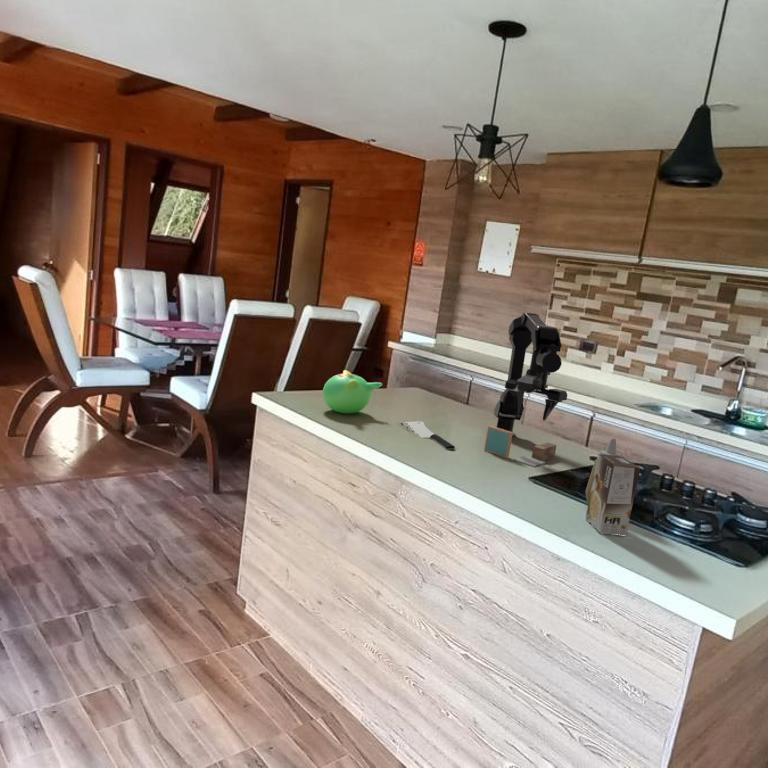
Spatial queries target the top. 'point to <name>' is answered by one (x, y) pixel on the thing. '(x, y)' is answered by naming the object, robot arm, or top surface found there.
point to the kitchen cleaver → (429, 434)
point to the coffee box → (612, 494)
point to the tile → (498, 441)
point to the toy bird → (348, 392)
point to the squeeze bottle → (609, 451)
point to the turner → (538, 455)
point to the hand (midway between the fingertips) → (530, 416)
